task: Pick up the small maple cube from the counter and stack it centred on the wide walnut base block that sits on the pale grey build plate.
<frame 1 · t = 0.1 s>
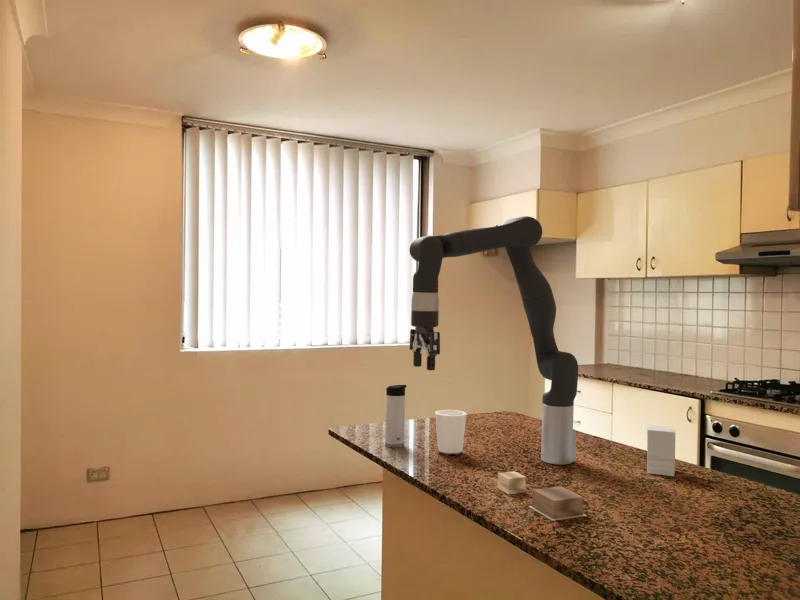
hand: (423, 368, 166), 29 cm above the table, fingers open, 8 cm apart
supplement box: (660, 472, 174), on the table
cup: (450, 453, 190), on the table
walnut base: (557, 510, 138), point 1 cm above the table, touching build plate
build plate: (559, 509, 142), on the table
maple cube: (511, 494, 152), on the table
travel mug: (395, 446, 198), on the table
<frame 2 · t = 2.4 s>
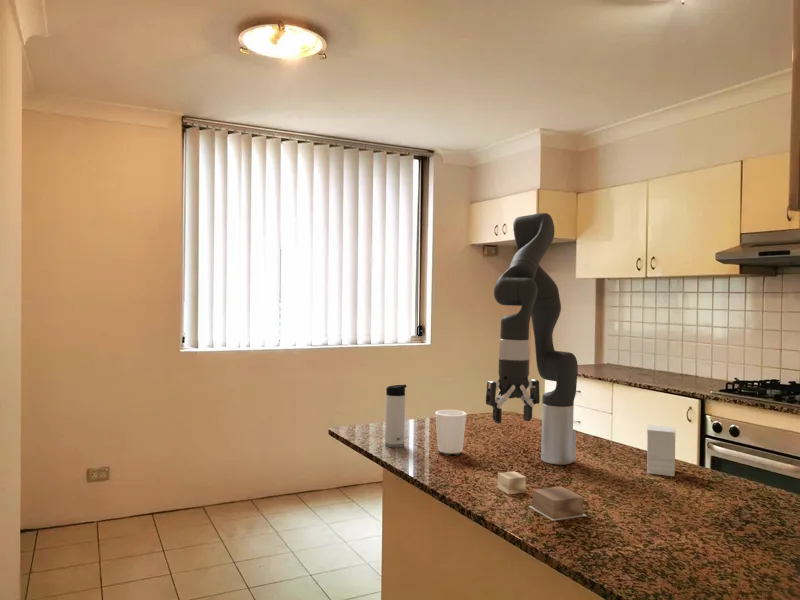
hand: (512, 421, 152), 18 cm above the table, fingers open, 8 cm apart
nothing on the table moved.
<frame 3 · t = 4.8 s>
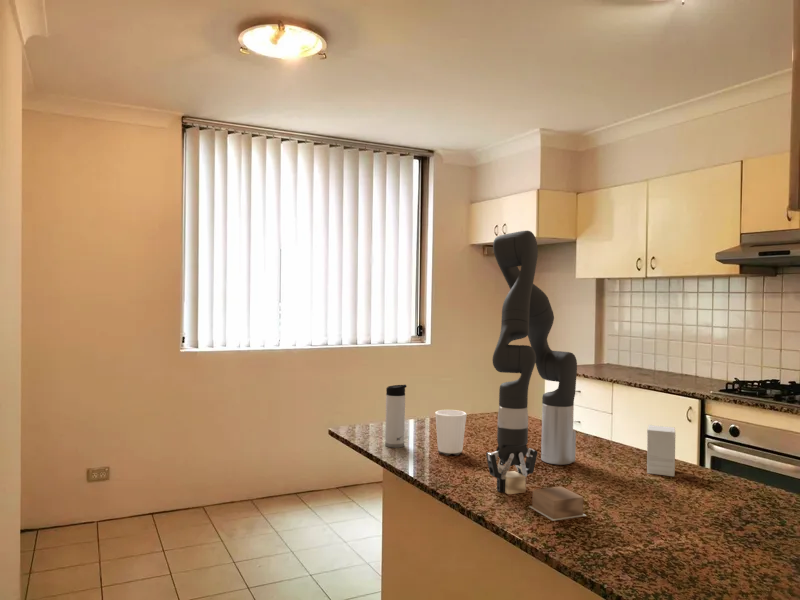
hand: (511, 491, 152), 1 cm above the table, fingers closed on maple cube, 5 cm apart
maple cube: (511, 494, 152), on the table, touching gripper
everything else where it was.
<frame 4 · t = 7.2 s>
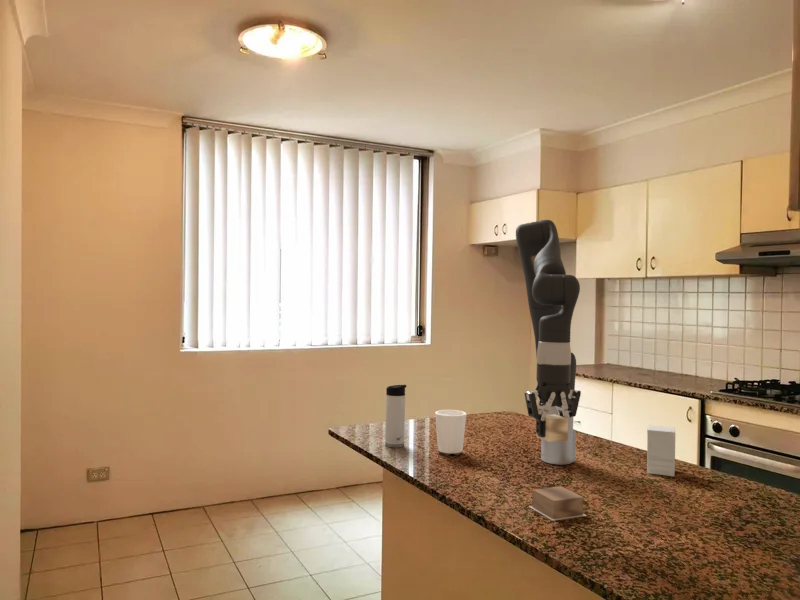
hand: (551, 435, 138), 18 cm above the table, fingers closed on maple cube, 5 cm apart
maple cube: (551, 438, 138), point 17 cm above the table, touching gripper
everything else where it was.
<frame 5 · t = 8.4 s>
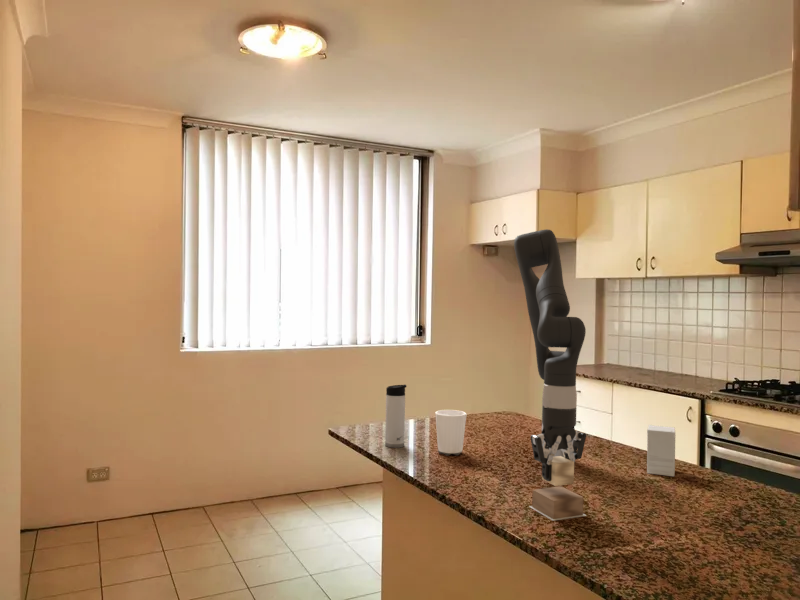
hand: (557, 478, 138), 8 cm above the table, fingers closed on maple cube, 5 cm apart
maple cube: (557, 481, 138), point 8 cm above the table, touching gripper
everything else where it was.
when the fingers open (7 cm above the table, at t = 9.5 s): maple cube stays where it is, resting on walnut base.
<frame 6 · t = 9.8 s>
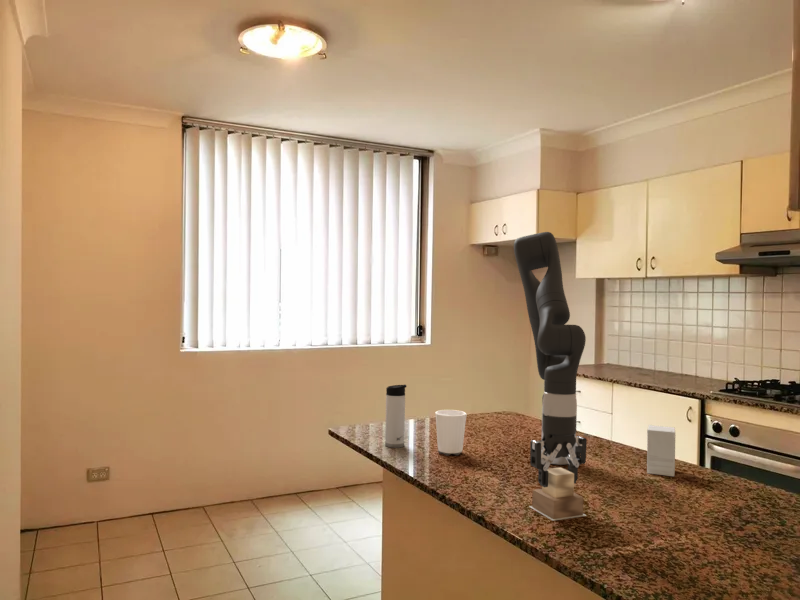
hand: (557, 484, 138), 7 cm above the table, fingers open, 7 cm apart
walnut base: (557, 510, 138), point 1 cm above the table, touching build plate, maple cube
maple cube: (557, 493, 138), point 5 cm above the table, touching walnut base
everything else where it was.
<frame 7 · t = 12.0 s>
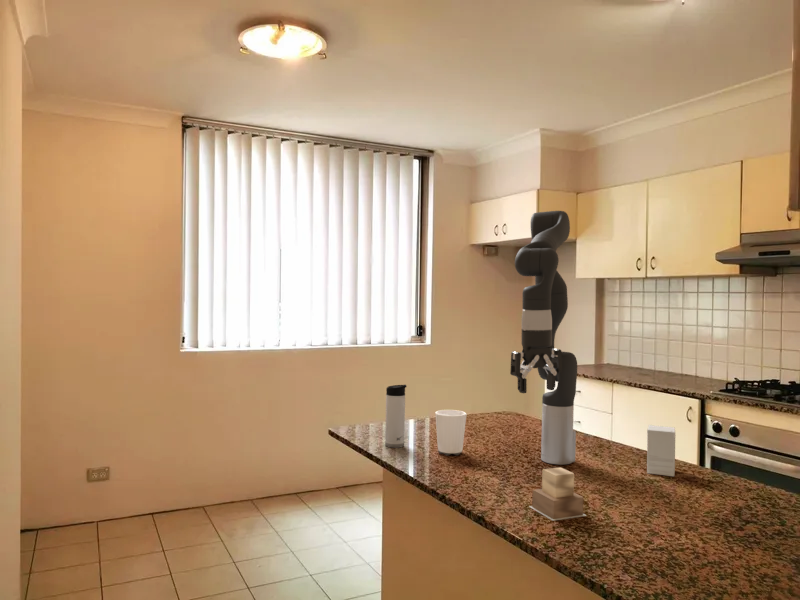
hand: (536, 391, 153), 26 cm above the table, fingers open, 8 cm apart
nothing on the table moved.
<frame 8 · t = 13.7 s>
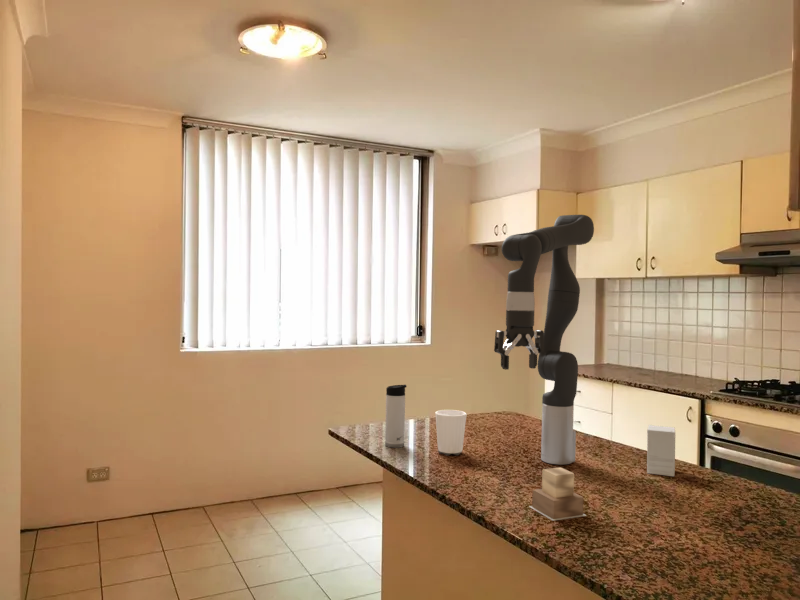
hand: (518, 368, 164), 30 cm above the table, fingers open, 8 cm apart
nothing on the table moved.
at the end: maple cube 0.0 cm off-centre on the walnut base, point 4.0 cm above the walnut base's base; maple cube tilted 0°; walnut base moved 0.1 cm from its start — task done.
